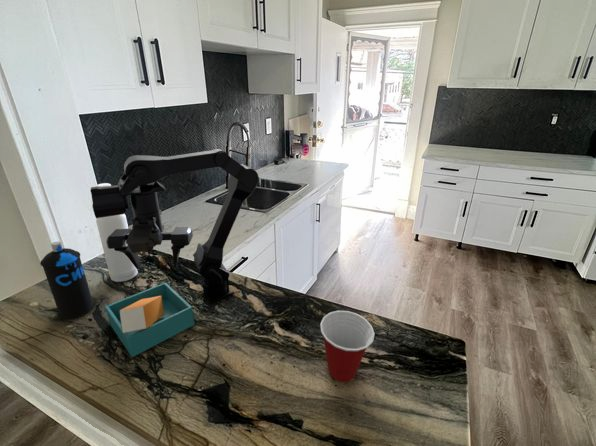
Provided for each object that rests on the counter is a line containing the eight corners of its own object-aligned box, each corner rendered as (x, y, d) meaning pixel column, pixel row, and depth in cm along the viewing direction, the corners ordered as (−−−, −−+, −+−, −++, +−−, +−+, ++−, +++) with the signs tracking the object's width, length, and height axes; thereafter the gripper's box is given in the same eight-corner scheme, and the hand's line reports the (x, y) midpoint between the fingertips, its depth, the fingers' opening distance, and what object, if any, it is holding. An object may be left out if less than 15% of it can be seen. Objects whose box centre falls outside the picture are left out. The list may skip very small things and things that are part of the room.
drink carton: (141, 299, 81) (119, 310, 68) (161, 295, 82) (143, 306, 69) (144, 318, 81) (122, 333, 68) (164, 314, 82) (146, 328, 69)
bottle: (105, 282, 97) (80, 188, 85) (118, 268, 104) (97, 180, 92) (131, 282, 97) (110, 188, 85) (142, 269, 104) (124, 181, 92)
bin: (168, 298, 90) (165, 282, 87) (194, 324, 80) (192, 307, 78) (109, 324, 80) (104, 306, 77) (131, 357, 70) (127, 338, 68)
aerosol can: (51, 314, 83) (26, 247, 75) (81, 297, 90) (61, 233, 82) (72, 323, 80) (49, 253, 72) (101, 304, 87) (83, 239, 79)
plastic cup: (357, 403, 60) (363, 356, 56) (308, 377, 66) (310, 332, 61) (375, 365, 69) (382, 321, 64) (331, 345, 74) (334, 303, 69)
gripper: (87, 225, 66) (104, 287, 72) (179, 222, 68) (187, 283, 74) (110, 206, 76) (123, 262, 82) (189, 205, 78) (196, 259, 84)
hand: (156, 267), depth 81 cm, fingers open, 9 cm apart
